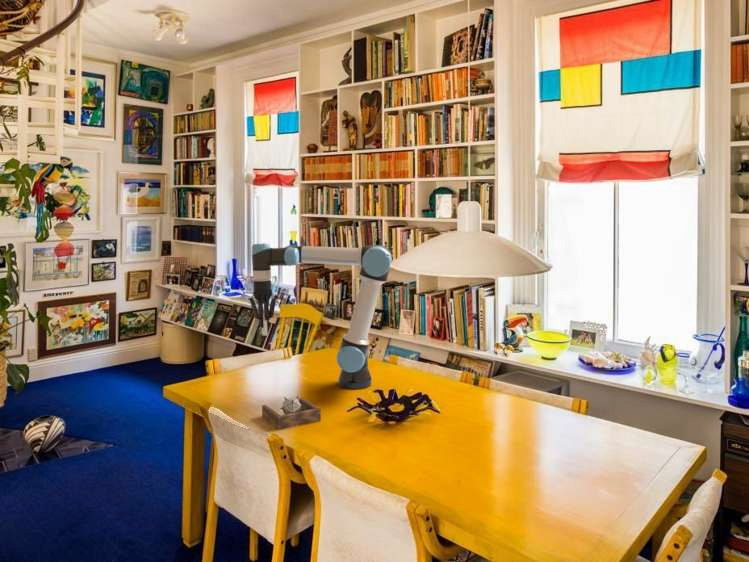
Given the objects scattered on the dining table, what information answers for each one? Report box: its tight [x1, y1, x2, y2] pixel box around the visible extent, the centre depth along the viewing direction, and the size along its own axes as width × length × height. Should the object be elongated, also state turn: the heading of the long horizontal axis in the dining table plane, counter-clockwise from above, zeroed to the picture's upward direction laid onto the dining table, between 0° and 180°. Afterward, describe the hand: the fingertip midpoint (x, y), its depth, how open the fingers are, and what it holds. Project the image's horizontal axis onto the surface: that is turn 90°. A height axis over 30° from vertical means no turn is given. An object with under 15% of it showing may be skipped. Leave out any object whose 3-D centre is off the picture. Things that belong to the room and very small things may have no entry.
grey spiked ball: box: [280, 395, 303, 415], centre depth 225 cm, size 9×8×10 cm
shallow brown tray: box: [261, 397, 322, 430], centre depth 225 cm, size 17×15×4 cm
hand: (264, 334), depth 254 cm, fingers closed
